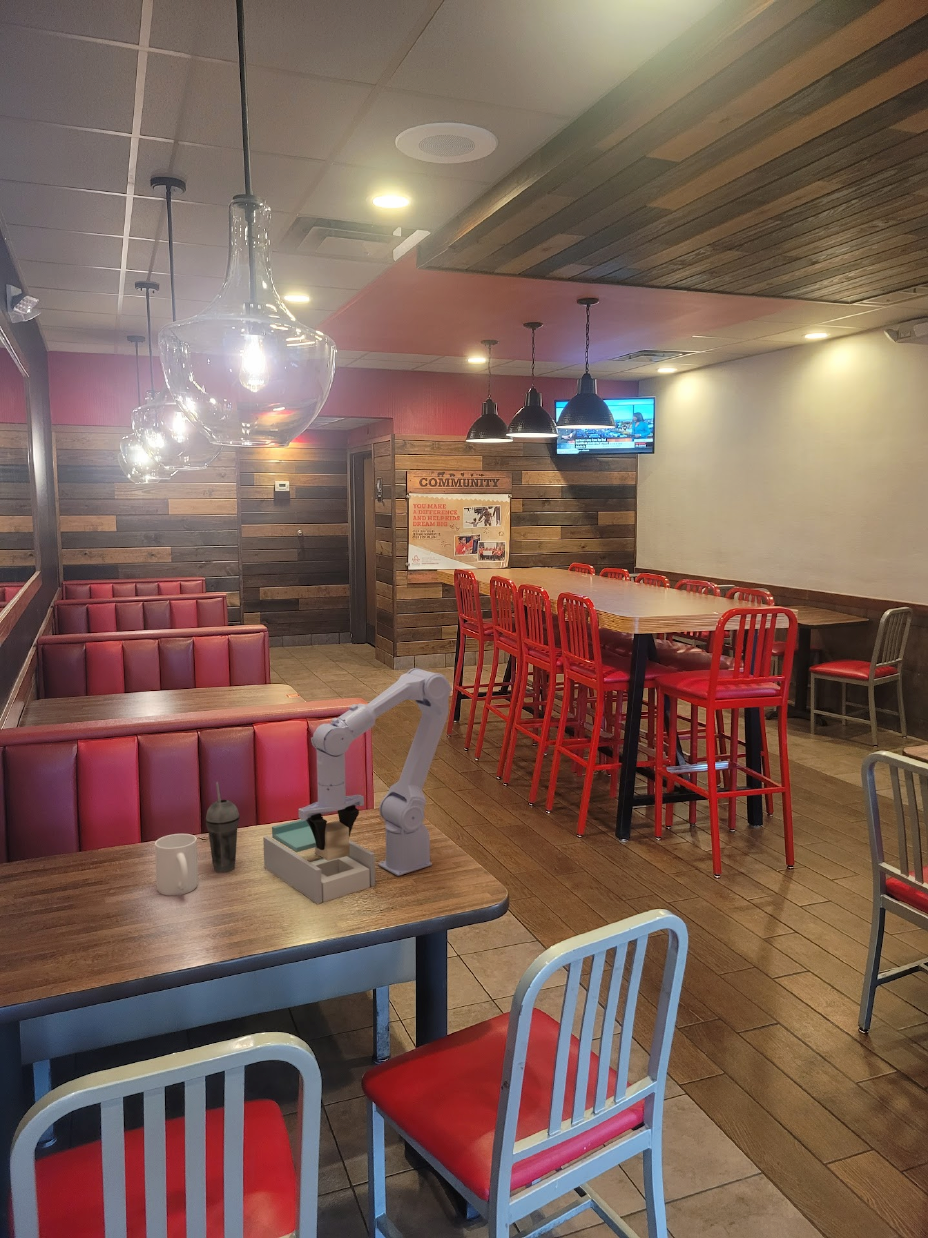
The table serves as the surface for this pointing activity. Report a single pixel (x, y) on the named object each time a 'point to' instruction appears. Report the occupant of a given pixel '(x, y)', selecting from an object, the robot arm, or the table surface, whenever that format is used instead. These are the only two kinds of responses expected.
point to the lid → (295, 835)
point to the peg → (335, 841)
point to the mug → (176, 864)
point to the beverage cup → (222, 833)
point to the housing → (321, 871)
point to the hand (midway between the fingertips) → (332, 845)
